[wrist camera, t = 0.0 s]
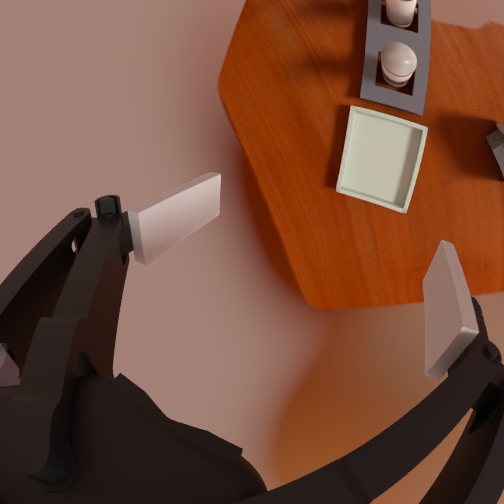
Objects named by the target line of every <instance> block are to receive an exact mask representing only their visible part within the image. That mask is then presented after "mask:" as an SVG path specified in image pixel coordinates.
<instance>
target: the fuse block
mask: <svg viewBox="0 0 504 504" xmlns="http://www.w3.org/2000/svg"><path fill="white" fill-rule="evenodd" d="M415 8H417V33H415V32H412V31H408V30H405V29H401V28H397V27H393V26H389V25H384V24H381V10H382V0H368V20H367V36H366V48H365V59H364V68H363V77H362V85H361V93H360V98H361V99H365V100H369V101H373V102H377V103H381V104H384V105H388V106H392V107H395V108H398V109H402V110H405V111H408V112H411V113H414V114H417V115H420V116H422V115H423V109H424V103H425V96H426V88H427V80H428V70H429V58H430V40H431V2H430V0H417V1H416V6H415ZM391 42H400V43H403V44H405V45H407V46H408V47H409V48H411V49H412V51H413V52H414V53H415V55H416V58H417V66H416V69H415V70H414V80H413V88H412V95H411V96H410V95H407V94H404V93H401V92H397V91H394V90H390V89H386V88H383V87H379V86H375V84H376V76H377V67H378V57H379V54H381V51H382V49H383V47H384V46H385V45H386V44H388V43H391Z"/></svg>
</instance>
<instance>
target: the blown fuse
mask: <svg viewBox="0 0 504 504" xmlns="http://www.w3.org/2000/svg"><path fill="white" fill-rule="evenodd" d="M381 61H382V74H383V78H384V80H385V81H386V82H387V83H388V84H389V85H391V86H393V87H402V86H404V85H405V84H406V83H407V82H408V80H409V78H410V77H411V75H412V73H413V72H414V70H415V69H416V66H417V58H416V55H415V53H414V52H413V51H412V49H411V48H409V47H408V46H407V45H405V44H403V43H400V42H391V43H388V44H386V45H385V46H384V47H383V49H382V51H381Z"/></svg>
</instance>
